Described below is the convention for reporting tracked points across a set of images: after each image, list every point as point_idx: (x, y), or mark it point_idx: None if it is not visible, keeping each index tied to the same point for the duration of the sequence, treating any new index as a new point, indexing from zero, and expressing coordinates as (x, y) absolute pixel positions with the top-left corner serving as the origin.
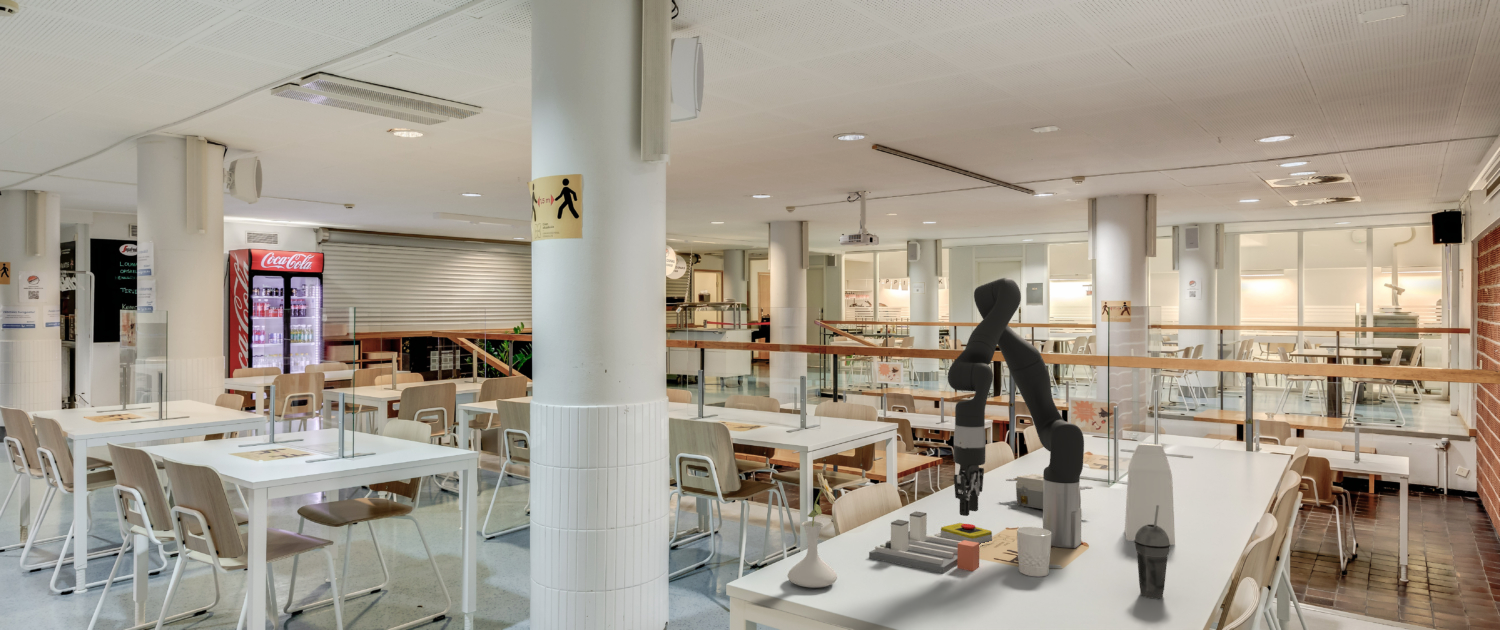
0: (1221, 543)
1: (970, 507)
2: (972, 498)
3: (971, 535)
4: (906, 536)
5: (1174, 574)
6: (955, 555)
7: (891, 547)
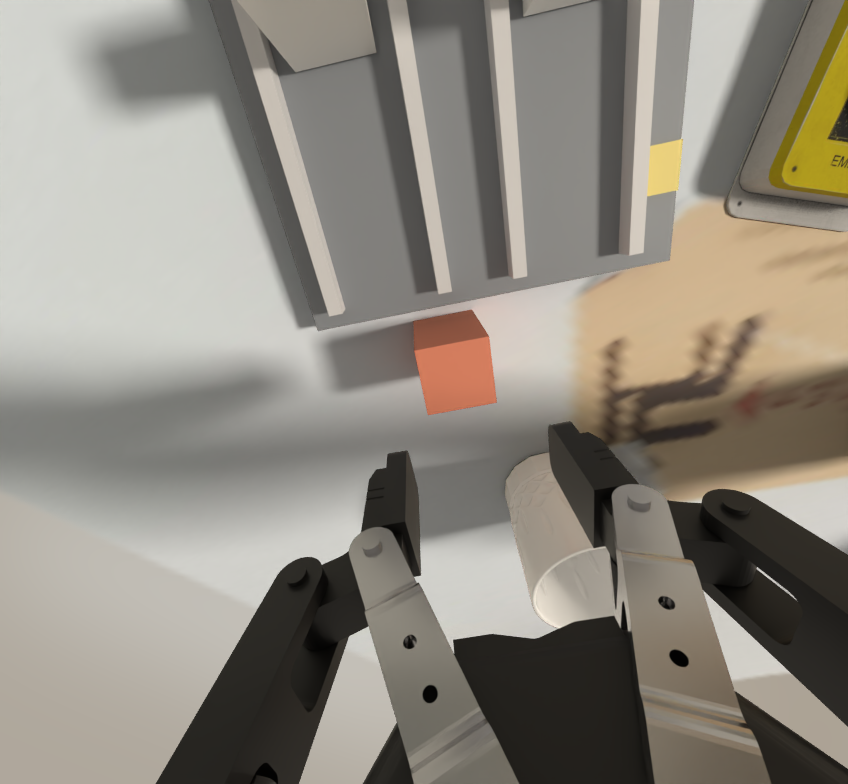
0: None
1: (555, 444)
2: (583, 503)
3: (789, 171)
4: (337, 21)
5: (726, 640)
6: (482, 273)
7: None
